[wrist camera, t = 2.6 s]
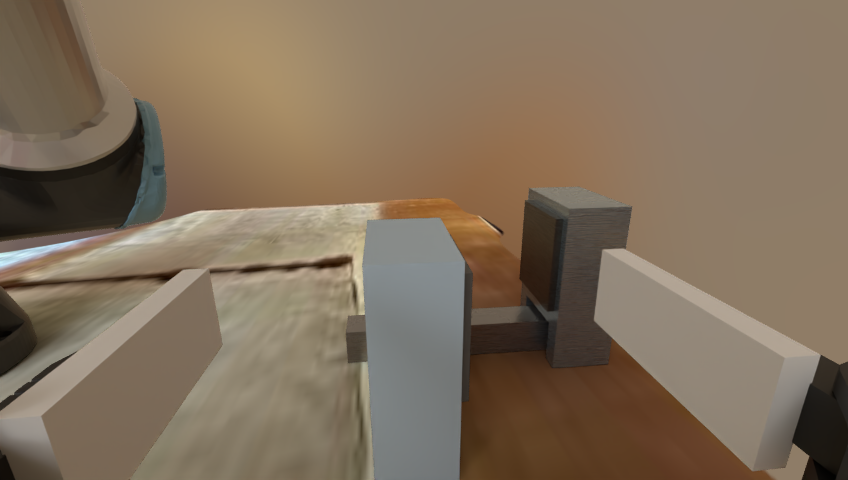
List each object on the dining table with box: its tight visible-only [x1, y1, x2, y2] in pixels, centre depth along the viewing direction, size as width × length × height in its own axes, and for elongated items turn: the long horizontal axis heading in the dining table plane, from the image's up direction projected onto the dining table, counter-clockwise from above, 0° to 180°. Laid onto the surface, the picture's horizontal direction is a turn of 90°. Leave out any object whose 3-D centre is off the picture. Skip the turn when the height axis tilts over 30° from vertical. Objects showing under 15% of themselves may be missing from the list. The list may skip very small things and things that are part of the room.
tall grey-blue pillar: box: [362, 218, 473, 480], centre depth 26 cm, size 9×6×14 cm, turn 6°
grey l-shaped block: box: [346, 187, 632, 368], centre depth 36 cm, size 22×9×14 cm, turn 96°
